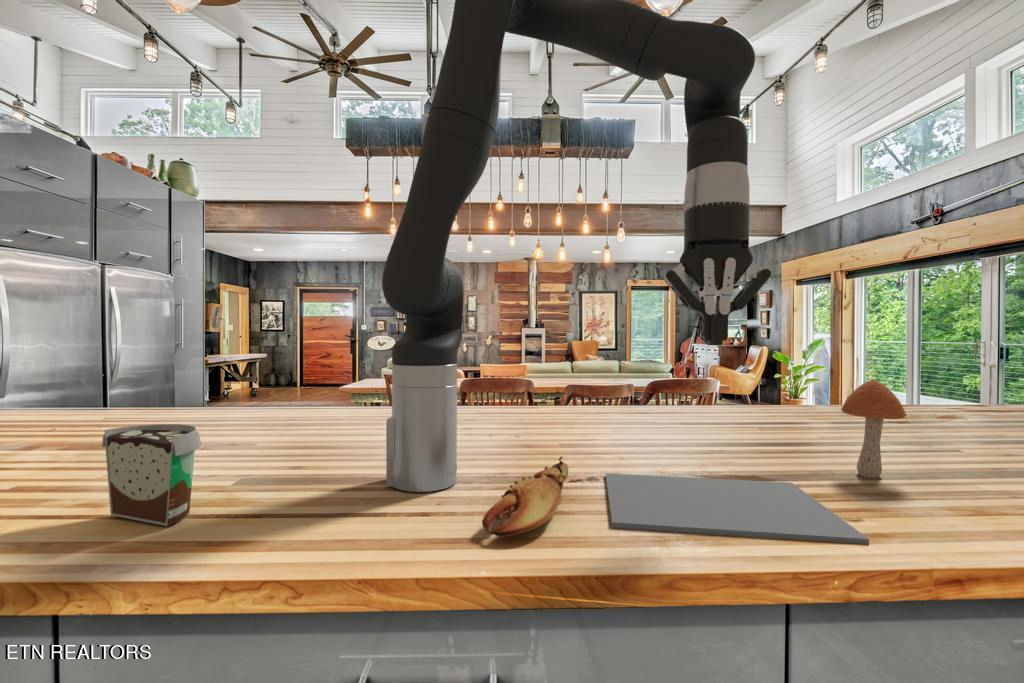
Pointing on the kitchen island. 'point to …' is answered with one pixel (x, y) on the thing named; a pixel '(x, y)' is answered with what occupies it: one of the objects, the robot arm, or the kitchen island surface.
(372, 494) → the kitchen island surface
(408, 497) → the kitchen island surface
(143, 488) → the food container
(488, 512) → the crab claw
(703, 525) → the mat
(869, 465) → the mushroom
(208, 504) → the kitchen island surface
